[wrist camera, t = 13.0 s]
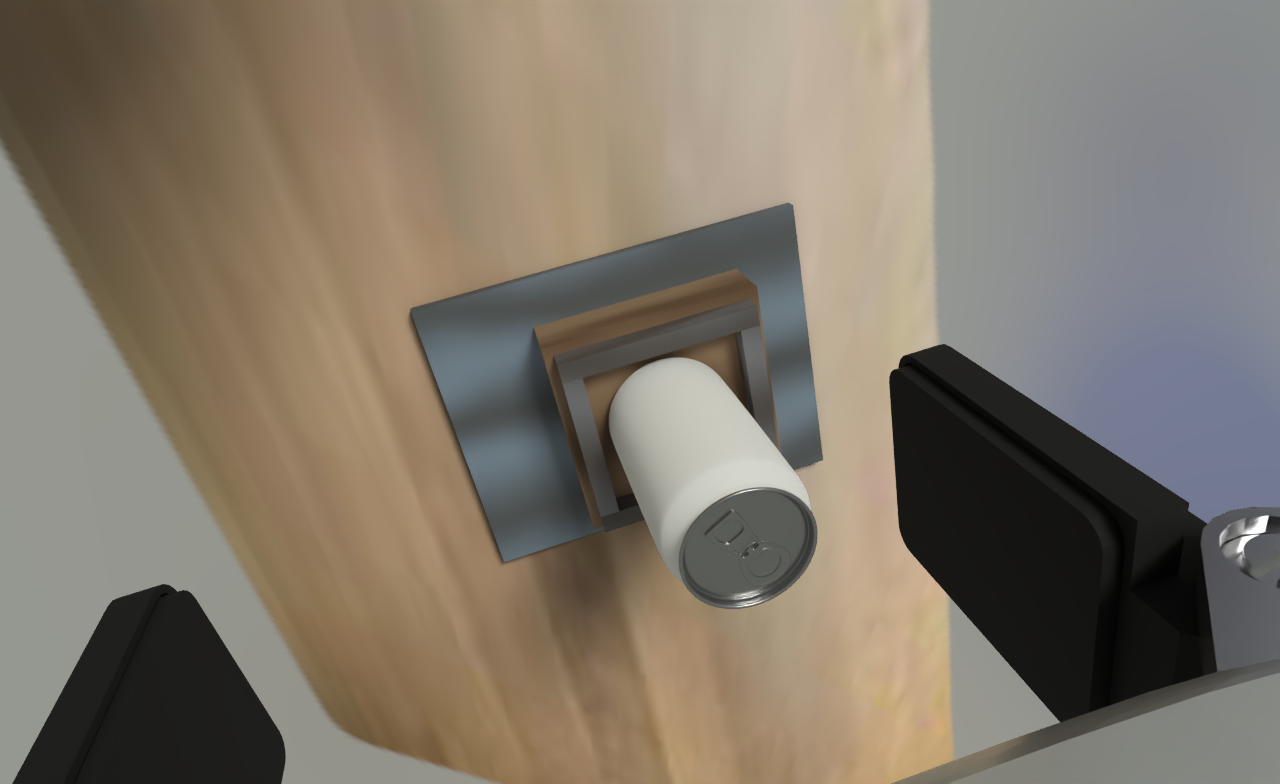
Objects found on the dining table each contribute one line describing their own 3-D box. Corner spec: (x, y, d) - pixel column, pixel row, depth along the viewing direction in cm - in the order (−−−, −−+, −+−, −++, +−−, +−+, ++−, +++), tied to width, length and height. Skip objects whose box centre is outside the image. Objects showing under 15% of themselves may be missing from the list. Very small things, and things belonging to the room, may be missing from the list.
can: (661, 487, 43) (736, 643, 32) (580, 416, 40) (633, 562, 29) (751, 407, 42) (858, 540, 32) (674, 328, 39) (764, 446, 29)
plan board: (411, 308, 39) (408, 344, 35) (788, 202, 42) (828, 224, 37) (503, 555, 47) (510, 610, 43) (818, 455, 49) (855, 497, 45)
